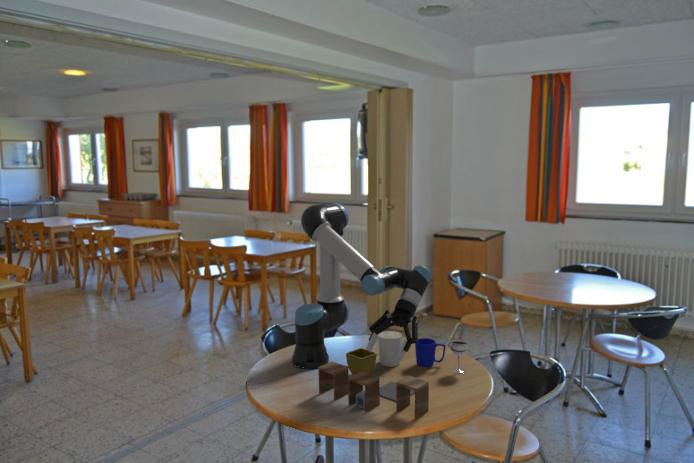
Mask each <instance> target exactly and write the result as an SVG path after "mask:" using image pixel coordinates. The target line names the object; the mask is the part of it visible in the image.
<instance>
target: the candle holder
mask: <svg viewBox="0 0 694 463" xmlns="http://www.w3.org/2000/svg"><path fill="white" fill-rule="evenodd" d="M377 340H378V353H379V354H378V356H379V357H378V358H379V363H380V365H381V366H383V367H388V368H390V367H393V368H394V367H397V366H399V365H400V364H401V361H400V360H399V359H398V358H397V355H398V353H399V351H400V349H401V346H402V344H403V342H402V341H403V334H402V333H401V332H398V331H395V330H384V331H383V332H381V333H380V334H378V339H377Z"/></svg>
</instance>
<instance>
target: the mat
mask: <svg viewBox="0 0 694 463" xmlns="http://www.w3.org/2000/svg"><path fill="white" fill-rule="evenodd" d="M412 395H415V391H413V390H410V397H411V396H412ZM380 397H382V398H385V399H388V400H390V401H394V402H396V382H395V381H392V380H391V381H389V382H388V383H386V384H384V385H382V386H380Z"/></svg>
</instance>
